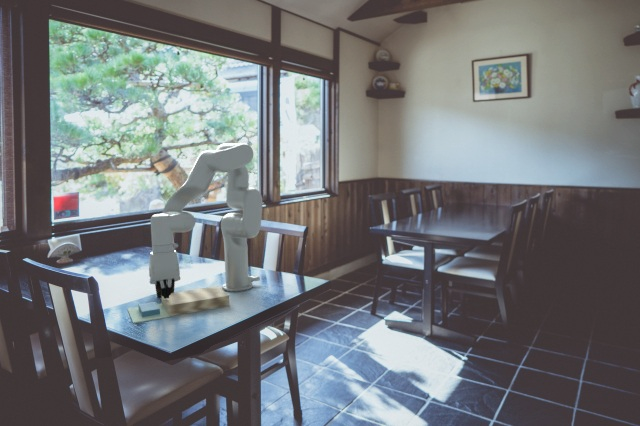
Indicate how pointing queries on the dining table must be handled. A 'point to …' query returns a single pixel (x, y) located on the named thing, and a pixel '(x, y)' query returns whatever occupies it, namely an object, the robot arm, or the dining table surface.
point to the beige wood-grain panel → (195, 300)
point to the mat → (138, 317)
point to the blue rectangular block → (149, 309)
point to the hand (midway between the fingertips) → (166, 297)
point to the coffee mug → (158, 288)
